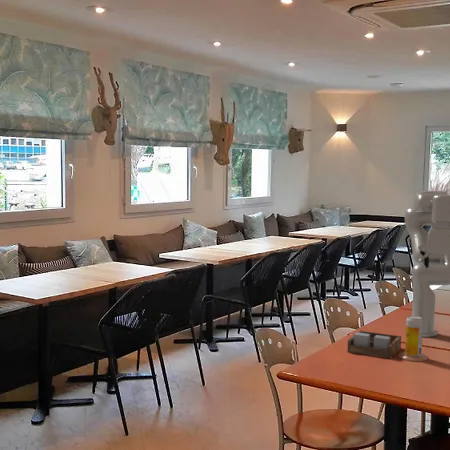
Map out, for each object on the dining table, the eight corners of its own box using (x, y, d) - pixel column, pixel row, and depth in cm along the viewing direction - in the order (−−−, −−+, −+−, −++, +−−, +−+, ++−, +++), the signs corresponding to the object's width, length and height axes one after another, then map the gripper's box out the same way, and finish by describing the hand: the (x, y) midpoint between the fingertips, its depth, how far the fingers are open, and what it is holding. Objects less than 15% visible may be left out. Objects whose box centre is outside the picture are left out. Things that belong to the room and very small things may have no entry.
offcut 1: (356, 349, 251) (356, 332, 250) (369, 351, 248) (370, 334, 248) (353, 351, 248) (353, 334, 247) (366, 353, 245) (367, 336, 244)
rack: (359, 342, 261) (360, 330, 261) (400, 348, 253) (401, 336, 253) (347, 352, 247) (347, 339, 246) (390, 358, 239) (391, 345, 238)
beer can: (408, 352, 245) (410, 314, 244) (423, 355, 242) (425, 317, 240) (402, 355, 241) (403, 317, 240) (417, 358, 237) (419, 320, 236)
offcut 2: (375, 352, 247) (376, 334, 247) (389, 354, 245) (390, 336, 244) (373, 354, 244) (373, 337, 243) (387, 356, 241) (388, 339, 241)
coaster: (401, 351, 248) (401, 350, 248) (430, 355, 243) (430, 354, 243) (395, 358, 239) (395, 357, 239) (424, 363, 234) (424, 361, 233)
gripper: (465, 226, 247) (463, 269, 248) (420, 224, 255) (419, 265, 256) (463, 227, 240) (461, 271, 241) (417, 225, 248) (415, 267, 249)
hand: (439, 268), depth 249 cm, fingers open, 9 cm apart
